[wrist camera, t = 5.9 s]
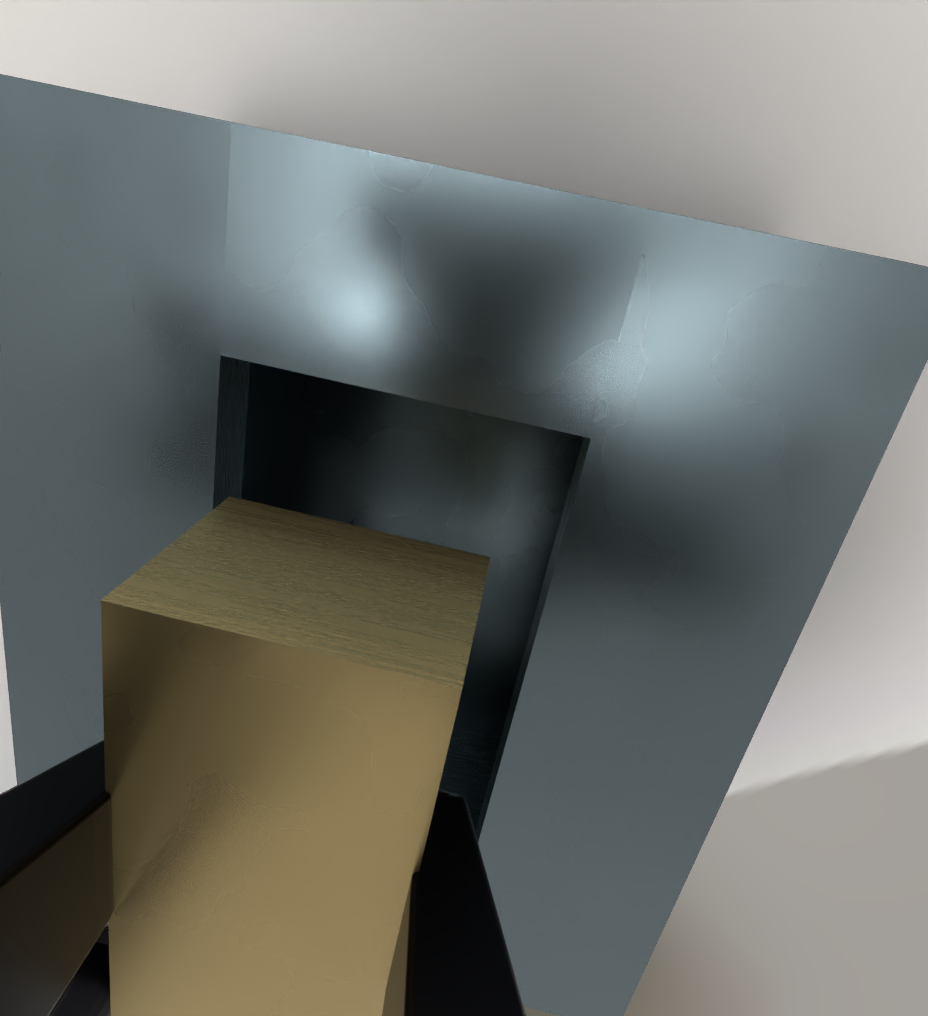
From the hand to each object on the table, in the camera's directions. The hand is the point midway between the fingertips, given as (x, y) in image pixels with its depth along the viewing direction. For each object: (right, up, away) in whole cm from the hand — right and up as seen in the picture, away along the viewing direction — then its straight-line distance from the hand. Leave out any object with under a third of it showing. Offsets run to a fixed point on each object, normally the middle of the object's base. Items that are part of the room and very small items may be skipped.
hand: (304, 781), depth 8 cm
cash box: (+1, +4, +9) cm, 10 cm away
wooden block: (0, 0, +1) cm, 1 cm away
